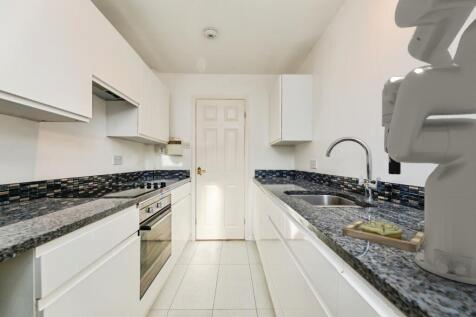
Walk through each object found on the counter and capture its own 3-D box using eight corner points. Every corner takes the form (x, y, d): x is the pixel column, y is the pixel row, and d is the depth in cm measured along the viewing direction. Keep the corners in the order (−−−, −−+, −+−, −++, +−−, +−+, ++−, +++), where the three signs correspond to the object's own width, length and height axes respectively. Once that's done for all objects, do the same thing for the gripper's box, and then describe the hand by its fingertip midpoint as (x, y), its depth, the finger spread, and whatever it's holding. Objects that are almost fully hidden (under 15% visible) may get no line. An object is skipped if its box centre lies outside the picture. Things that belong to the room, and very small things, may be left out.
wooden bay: (416, 252, 56) (416, 245, 56) (342, 234, 69) (342, 228, 69) (425, 238, 67) (425, 232, 67) (359, 225, 80) (359, 220, 80)
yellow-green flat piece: (353, 233, 71) (353, 221, 71) (375, 229, 76) (375, 218, 76) (386, 244, 62) (386, 230, 62) (410, 239, 66) (410, 226, 66)
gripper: (403, 115, 70) (403, 175, 69) (412, 122, 80) (412, 174, 79) (375, 119, 75) (375, 174, 75) (387, 125, 85) (387, 173, 85)
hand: (394, 174), depth 77 cm, fingers closed
